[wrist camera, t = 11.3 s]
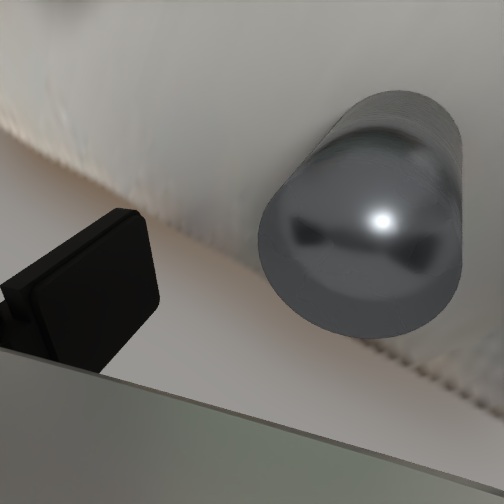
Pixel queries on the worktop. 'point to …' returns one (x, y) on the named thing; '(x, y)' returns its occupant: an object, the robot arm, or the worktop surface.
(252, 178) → the worktop surface
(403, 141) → the metal cylinder
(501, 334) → the worktop surface
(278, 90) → the worktop surface
